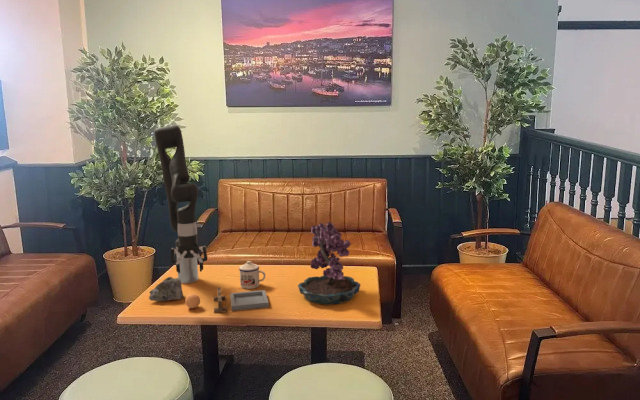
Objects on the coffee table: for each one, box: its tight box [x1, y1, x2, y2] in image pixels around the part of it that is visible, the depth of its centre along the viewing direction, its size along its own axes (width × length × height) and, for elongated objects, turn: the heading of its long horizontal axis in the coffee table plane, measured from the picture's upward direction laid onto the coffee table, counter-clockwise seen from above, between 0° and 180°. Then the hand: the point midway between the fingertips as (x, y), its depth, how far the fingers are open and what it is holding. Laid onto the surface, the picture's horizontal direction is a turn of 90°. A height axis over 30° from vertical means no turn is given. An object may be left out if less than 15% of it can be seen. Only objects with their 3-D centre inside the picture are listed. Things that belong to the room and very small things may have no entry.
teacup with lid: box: [238, 260, 266, 290], centre depth 248 cm, size 12×9×12 cm
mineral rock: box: [148, 276, 184, 302], centre depth 235 cm, size 13×11×10 cm
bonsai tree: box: [297, 221, 361, 306], centre depth 234 cm, size 35×27×33 cm
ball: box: [184, 293, 201, 309], centre depth 225 cm, size 6×6×6 cm
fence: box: [213, 286, 228, 314], centre depth 227 cm, size 16×5×5 cm, turn 11°
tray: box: [229, 289, 270, 312], centre depth 229 cm, size 15×15×2 cm
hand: (190, 271), depth 222 cm, fingers open, 8 cm apart
